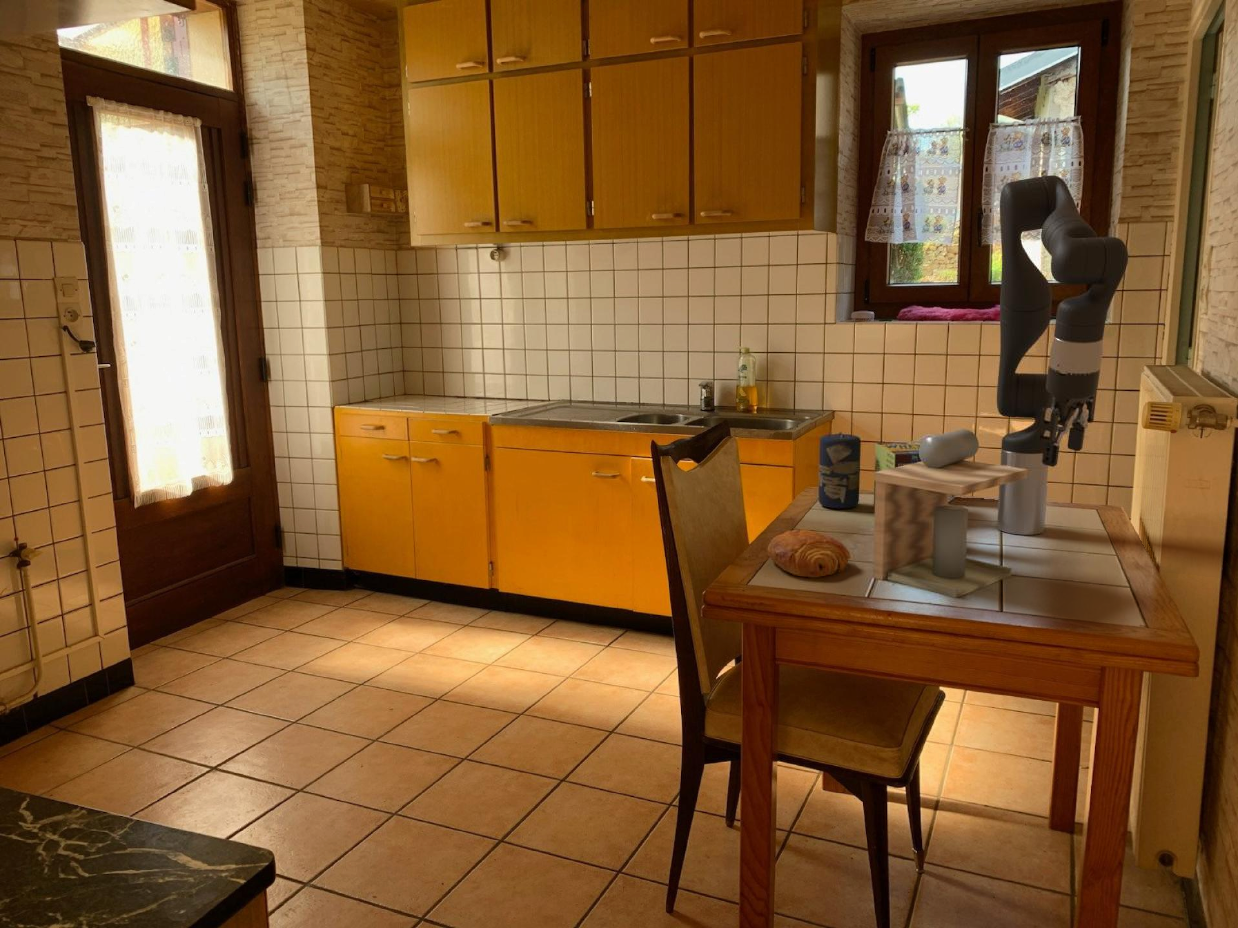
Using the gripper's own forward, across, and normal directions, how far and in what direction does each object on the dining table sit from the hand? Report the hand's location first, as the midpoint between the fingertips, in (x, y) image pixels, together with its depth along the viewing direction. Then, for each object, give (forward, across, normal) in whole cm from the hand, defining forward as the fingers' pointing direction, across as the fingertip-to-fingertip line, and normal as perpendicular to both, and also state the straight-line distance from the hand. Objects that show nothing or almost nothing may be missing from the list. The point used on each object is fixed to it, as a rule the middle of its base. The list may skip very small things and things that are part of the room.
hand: (1061, 457), depth 156 cm
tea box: (+39, -44, -49) cm, 76 cm away
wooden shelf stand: (+24, +10, -13) cm, 29 cm away
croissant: (+25, +23, -34) cm, 48 cm away
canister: (+36, -19, -59) cm, 72 cm away
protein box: (+35, -24, -44) cm, 61 cm away
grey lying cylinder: (+3, +7, -20) cm, 21 cm away
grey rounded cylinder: (+23, +10, -13) cm, 28 cm away
